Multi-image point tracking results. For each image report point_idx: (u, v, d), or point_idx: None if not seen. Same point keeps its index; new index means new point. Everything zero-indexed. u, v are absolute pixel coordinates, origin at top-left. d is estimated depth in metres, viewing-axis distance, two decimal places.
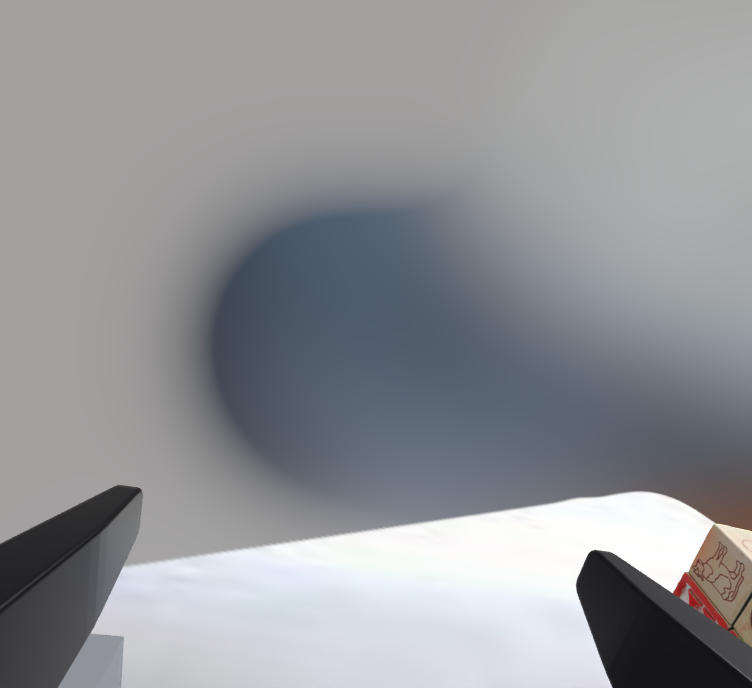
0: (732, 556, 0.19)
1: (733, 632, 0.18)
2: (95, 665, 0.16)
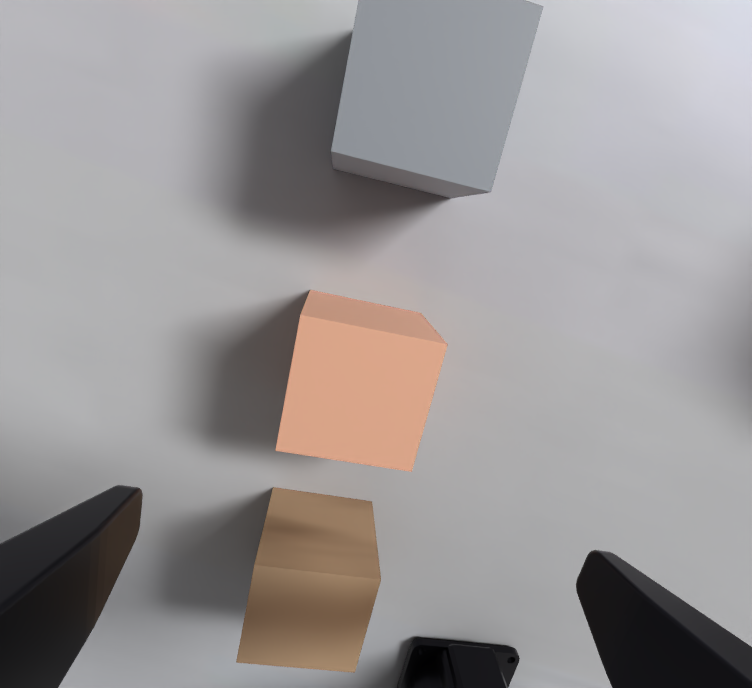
0: None
1: None
2: (515, 46, 0.12)
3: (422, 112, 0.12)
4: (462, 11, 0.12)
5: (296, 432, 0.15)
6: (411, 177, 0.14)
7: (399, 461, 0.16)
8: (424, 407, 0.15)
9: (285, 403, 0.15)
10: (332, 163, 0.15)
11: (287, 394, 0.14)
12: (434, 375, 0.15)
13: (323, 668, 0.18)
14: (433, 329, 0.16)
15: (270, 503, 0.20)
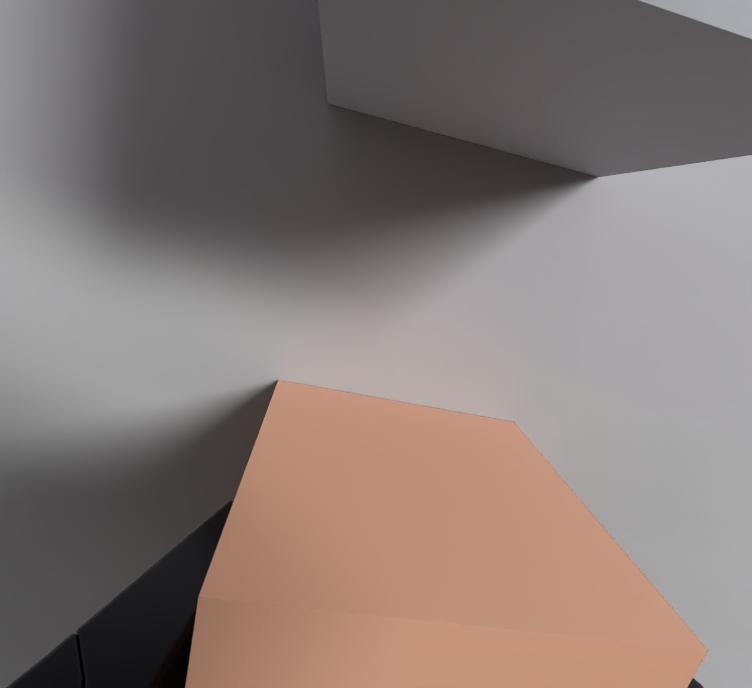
0: None
1: None
2: None
3: None
4: None
5: None
6: (594, 86, 0.04)
7: None
8: None
9: None
10: (324, 68, 0.05)
11: None
12: None
13: None
14: (594, 520, 0.06)
15: None
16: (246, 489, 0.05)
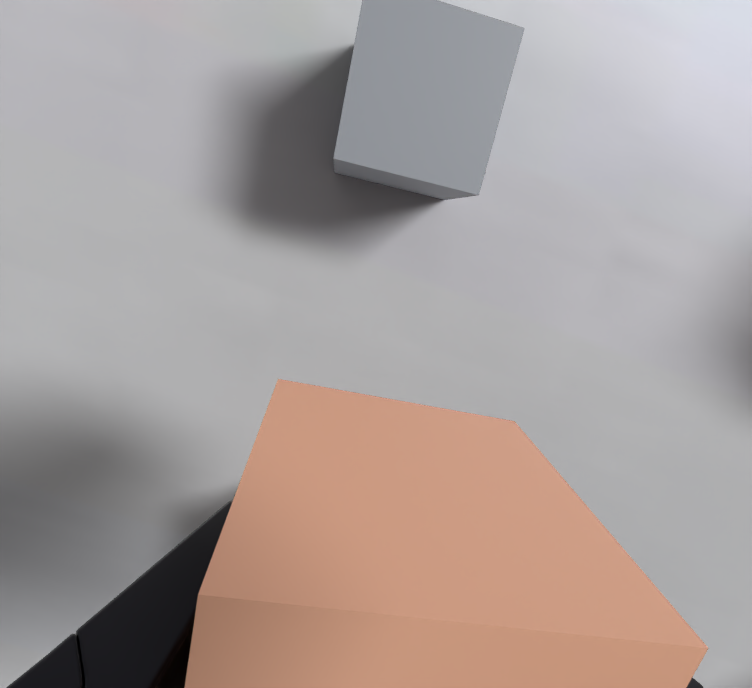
0: None
1: None
2: (499, 64, 0.13)
3: (416, 123, 0.14)
4: (451, 33, 0.13)
5: None
6: (406, 181, 0.16)
7: None
8: None
9: None
10: (334, 168, 0.17)
11: None
12: None
13: None
14: (594, 518, 0.06)
15: None
16: (246, 487, 0.05)
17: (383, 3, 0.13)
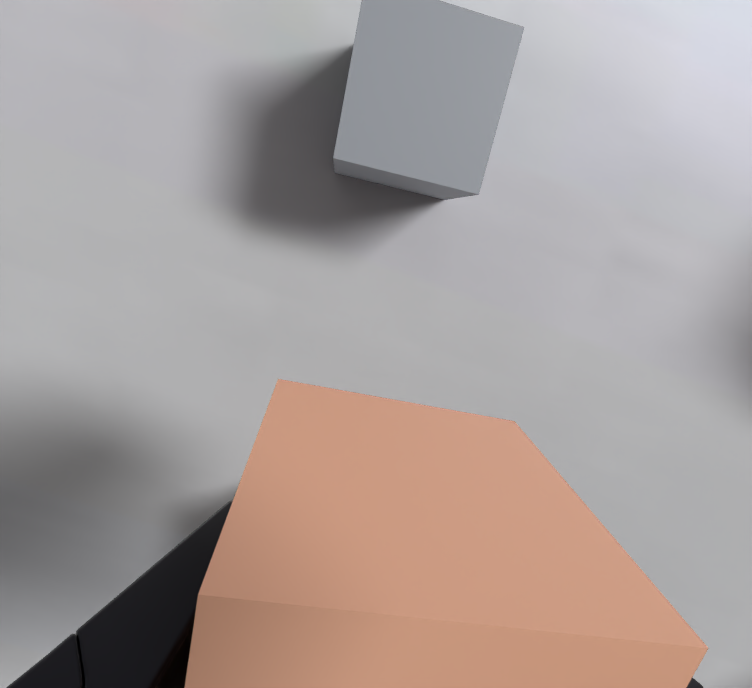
0: None
1: None
2: (499, 63, 0.13)
3: (416, 122, 0.14)
4: (451, 32, 0.13)
5: None
6: (406, 181, 0.16)
7: None
8: None
9: None
10: (334, 168, 0.17)
11: None
12: None
13: None
14: (594, 518, 0.06)
15: None
16: (246, 487, 0.05)
17: (383, 2, 0.13)
